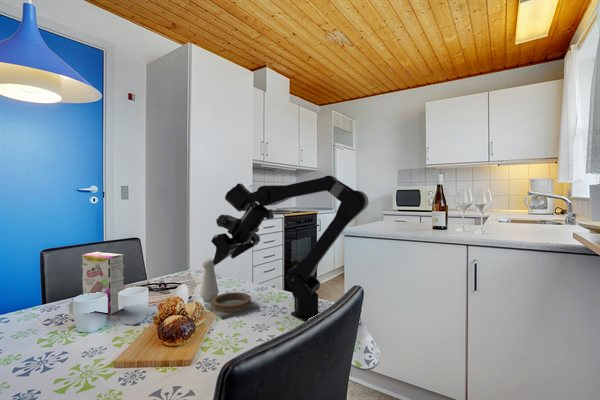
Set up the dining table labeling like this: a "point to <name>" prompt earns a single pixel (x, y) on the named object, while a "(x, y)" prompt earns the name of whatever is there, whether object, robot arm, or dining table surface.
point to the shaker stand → (231, 304)
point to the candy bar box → (104, 276)
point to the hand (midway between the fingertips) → (223, 260)
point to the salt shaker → (208, 281)
